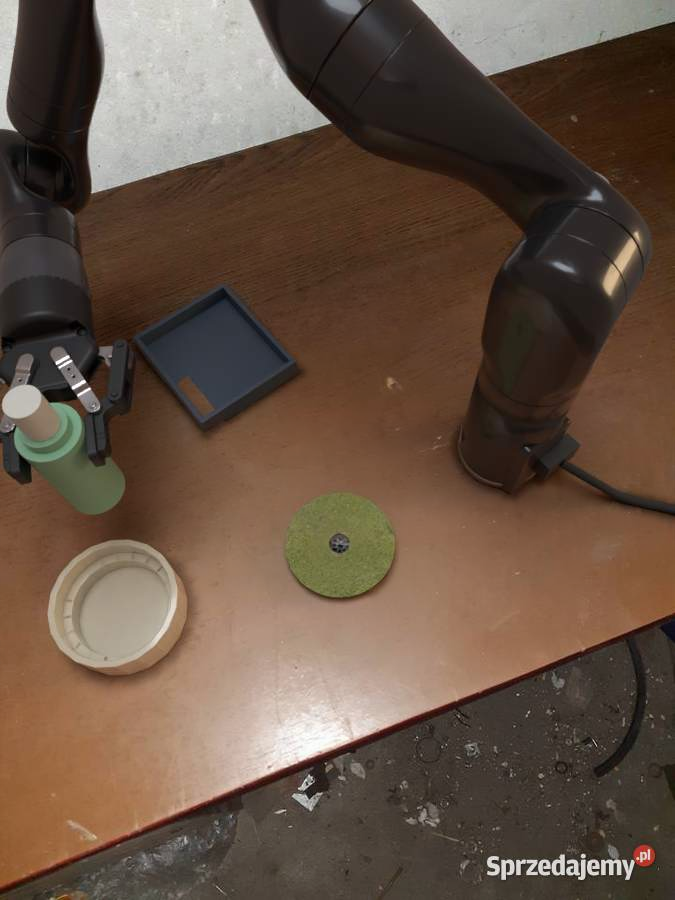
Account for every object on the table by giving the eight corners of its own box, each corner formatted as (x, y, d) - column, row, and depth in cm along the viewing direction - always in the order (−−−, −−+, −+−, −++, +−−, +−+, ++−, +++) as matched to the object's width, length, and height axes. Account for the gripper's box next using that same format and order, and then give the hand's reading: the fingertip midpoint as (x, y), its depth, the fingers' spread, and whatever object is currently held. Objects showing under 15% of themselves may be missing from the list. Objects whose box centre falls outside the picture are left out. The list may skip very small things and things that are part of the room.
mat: (392, 498, 75) (393, 491, 73) (396, 601, 70) (397, 596, 68) (288, 500, 75) (286, 492, 73) (285, 602, 70) (283, 597, 68)
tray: (298, 373, 82) (296, 361, 80) (205, 434, 79) (201, 423, 77) (227, 295, 88) (223, 282, 86) (138, 349, 85) (132, 337, 82)
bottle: (133, 498, 62) (67, 414, 48) (78, 524, 61) (-6, 445, 47) (114, 453, 64) (46, 359, 50) (61, 477, 63) (-24, 388, 50)
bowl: (211, 623, 69) (201, 611, 65) (105, 703, 66) (86, 696, 62) (149, 533, 74) (135, 516, 69) (46, 603, 71) (25, 590, 66)
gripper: (-60, 292, 57) (-61, 473, 50) (113, 255, 58) (137, 426, 51) (-16, 345, 64) (-11, 511, 56) (138, 311, 65) (163, 469, 57)
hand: (59, 470), depth 54 cm, fingers closed on bottle, 5 cm apart
